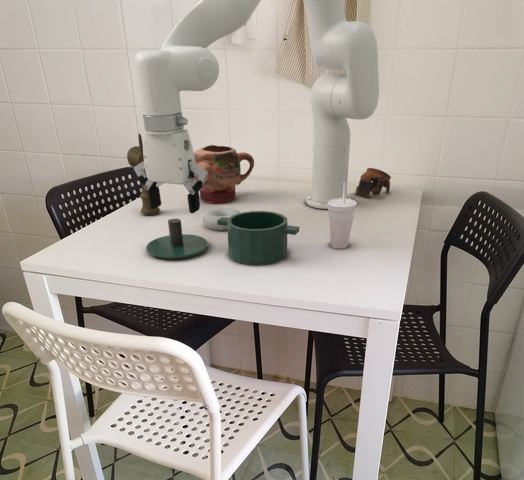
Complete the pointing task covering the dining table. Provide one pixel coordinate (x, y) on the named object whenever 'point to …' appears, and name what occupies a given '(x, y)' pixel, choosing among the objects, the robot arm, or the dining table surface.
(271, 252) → the pot
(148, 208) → the kendama
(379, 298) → the dining table surface
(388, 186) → the brown piece
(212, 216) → the donut
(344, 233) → the smoothie
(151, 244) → the lid
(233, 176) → the sculpted ceramic jug
